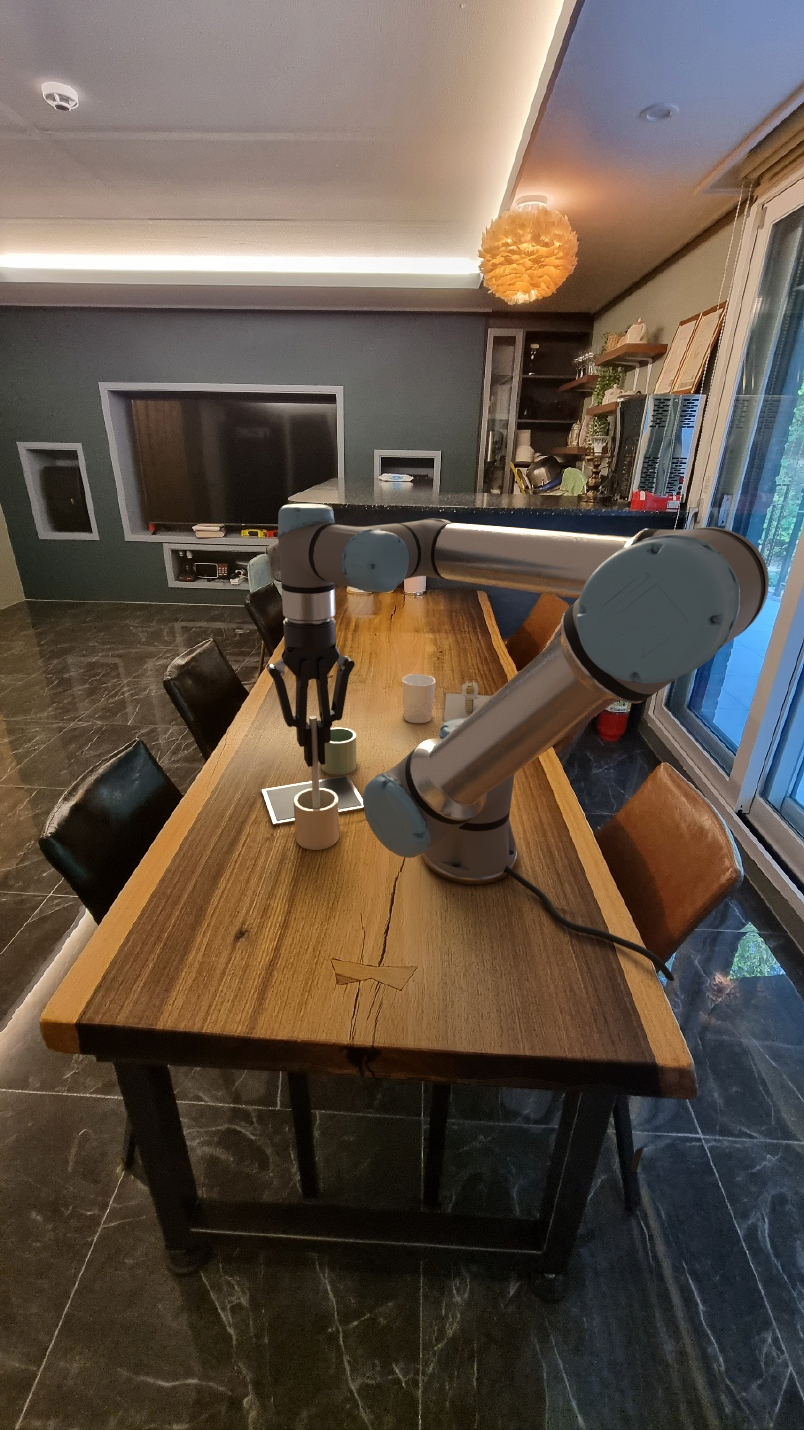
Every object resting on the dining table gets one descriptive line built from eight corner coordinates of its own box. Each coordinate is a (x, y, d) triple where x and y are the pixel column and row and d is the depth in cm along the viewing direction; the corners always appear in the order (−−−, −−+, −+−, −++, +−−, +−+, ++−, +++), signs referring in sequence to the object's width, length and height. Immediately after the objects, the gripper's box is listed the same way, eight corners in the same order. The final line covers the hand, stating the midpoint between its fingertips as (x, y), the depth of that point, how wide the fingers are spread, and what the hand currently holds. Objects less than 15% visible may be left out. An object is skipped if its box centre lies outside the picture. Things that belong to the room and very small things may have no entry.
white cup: (430, 726, 145) (432, 687, 141) (398, 722, 147) (399, 683, 143) (435, 713, 152) (437, 675, 148) (404, 710, 154) (405, 672, 150)
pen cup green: (360, 773, 124) (360, 740, 121) (326, 779, 121) (325, 745, 118) (350, 757, 130) (350, 725, 127) (317, 762, 128) (316, 730, 124)
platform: (443, 720, 149) (445, 695, 146) (446, 693, 165) (447, 670, 162) (493, 723, 148) (495, 698, 145) (490, 695, 164) (492, 672, 161)
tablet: (367, 810, 111) (367, 805, 111) (273, 828, 106) (273, 823, 105) (348, 779, 122) (348, 774, 121) (261, 793, 116) (261, 789, 115)
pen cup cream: (343, 844, 102) (343, 806, 99) (301, 853, 99) (299, 814, 96) (332, 821, 108) (331, 784, 105) (291, 829, 105) (289, 791, 102)
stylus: (320, 807, 101) (317, 718, 94) (313, 808, 100) (309, 719, 94) (319, 803, 102) (315, 715, 95) (312, 805, 101) (308, 716, 95)
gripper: (349, 607, 94) (351, 745, 103) (254, 614, 89) (265, 758, 98) (365, 620, 87) (364, 765, 97) (263, 628, 83) (273, 780, 92)
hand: (314, 761), depth 98 cm, fingers closed
